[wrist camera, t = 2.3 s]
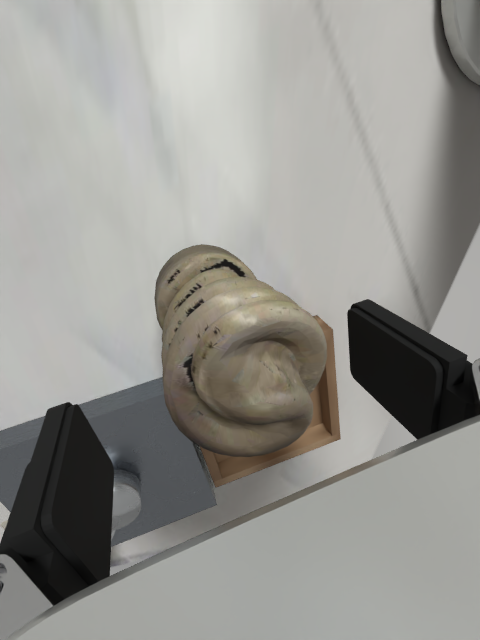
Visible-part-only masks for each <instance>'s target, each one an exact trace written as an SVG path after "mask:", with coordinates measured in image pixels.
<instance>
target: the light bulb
mask: <svg viewBox="0 0 480 640" xmlns="http://www.w3.org/2000/svg"><path fill="white" fill-rule="evenodd" d="M155 307H156V314H157V319H158V322H159V324H160V327H161V328H162V330H163V334H162V342H163V347H162V355H161V356H162V364H163V389H164V398H165V404H166V407H167V409H168V411H169V414H170V416H171V418H172V420H173V422H174V423H175V425H176V426H177V428H178V429H179V431H180V432H181V433H183V434H184V435H185V436H186V437H187V438H188V439H189V440H190V441H192V442H193V443H195V444H197V445H198V446H200V447H202V448H204V449H206V450H209V451H211V452H214V453H217V454H221V455H227V456H233V457H252V456H261V455H266V454H269V453H272V452H275V451H278V450H280V449H282V448H285V447H287V446H289V445H290V444H292V443H293V442H295V441H296V440H297V439H298V438H300V437H301V436H302V435H303V434H304V432H305V431H306V429H307V428H308V426H309V425H310V423H311V421H312V417H313V402H312V400H311V397H310V393H311V392H312V391H313V390H314V389H315V387H316V386H317V384H318V382H319V381H320V378H321V376H322V374H323V371H324V369H325V364H326V359H327V343H326V339H325V335H324V333H323V330H322V328H321V327H320V325H319V324H318V322H317V320H316V319H315V318H314V317H313V316H312V315H311V314H310V313H308V312H307V311H305V310H304V309H302V308H301V307H299V306H298V305H297V304H296V303H295V302H294V301H293V300H292V299H290V298H289V297H287V296H286V295H284V294H283V293H280V292H278V291H276V290H274V289H273V288H272V287H271V286H269V285H268V284H266V283H264V282H261V281H259V280H257V279H256V277H255V276H254V274H253V273H252V271H251V270H250V269H249V268H248V267H247V266H246V265H245V264H244V263H243V262H242V261H241V260H240V259H238V258H237V257H236V256H234V255H233V254H231V253H230V252H228V251H226V250H224V249H222V248H220V247H216V246H211V245H196V246H192V247H189V248H186V249H183V250H181V251H180V252H178V253H176V254H175V255H173V256H172V257H171V258H170V259H169V260H168V261H167V262H166V264H165V265H164V266H163V268H162V269H161V271H160V273H159V276H158V278H157V281H156V290H155Z"/></svg>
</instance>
